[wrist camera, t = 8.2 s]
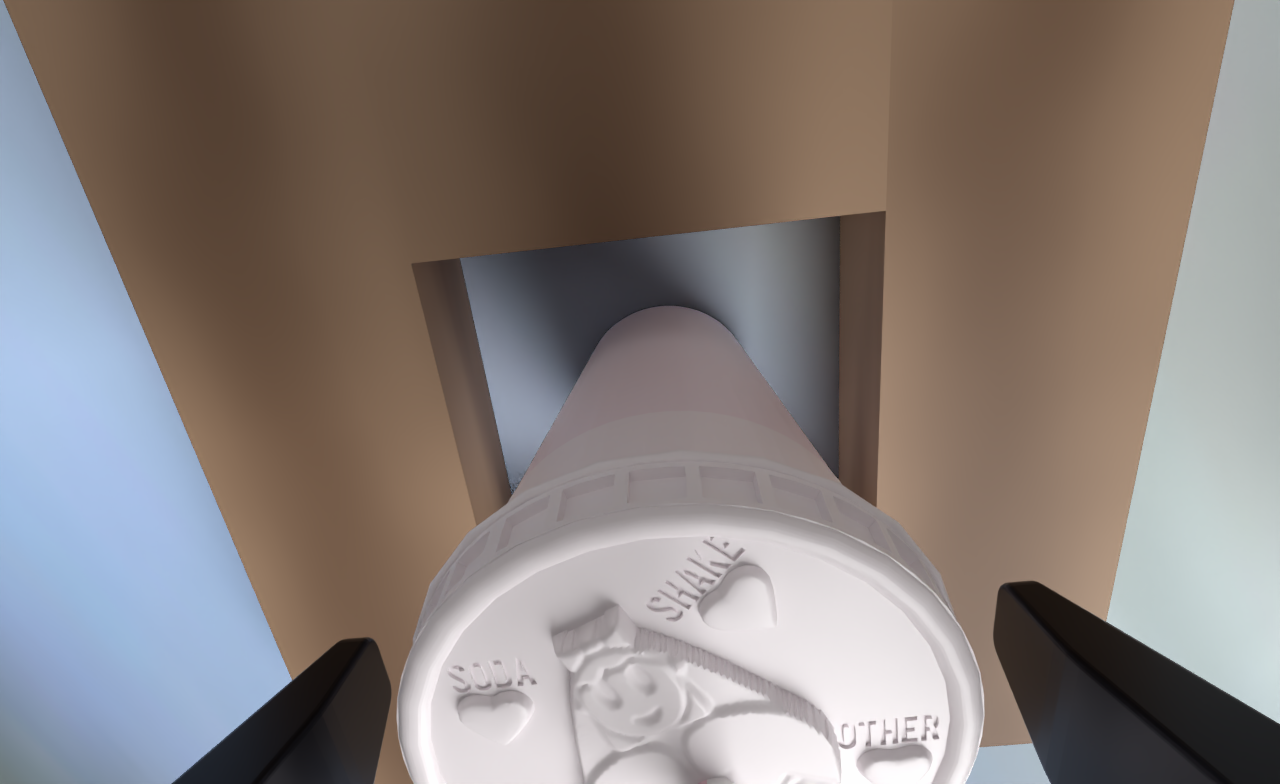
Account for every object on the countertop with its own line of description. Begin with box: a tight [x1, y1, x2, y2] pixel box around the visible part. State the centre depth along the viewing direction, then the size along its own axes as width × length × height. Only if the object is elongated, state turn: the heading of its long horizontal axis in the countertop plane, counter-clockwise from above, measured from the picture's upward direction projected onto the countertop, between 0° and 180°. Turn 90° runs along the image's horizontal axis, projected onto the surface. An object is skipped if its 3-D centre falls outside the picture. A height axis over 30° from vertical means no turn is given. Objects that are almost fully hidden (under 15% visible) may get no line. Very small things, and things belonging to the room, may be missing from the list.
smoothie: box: [397, 306, 985, 784], centre depth 10 cm, size 6×6×14 cm
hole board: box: [3, 0, 1234, 784], centre depth 15 cm, size 18×18×3 cm
